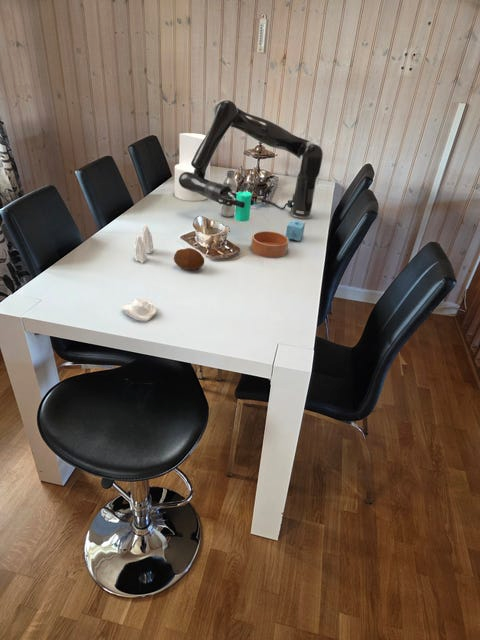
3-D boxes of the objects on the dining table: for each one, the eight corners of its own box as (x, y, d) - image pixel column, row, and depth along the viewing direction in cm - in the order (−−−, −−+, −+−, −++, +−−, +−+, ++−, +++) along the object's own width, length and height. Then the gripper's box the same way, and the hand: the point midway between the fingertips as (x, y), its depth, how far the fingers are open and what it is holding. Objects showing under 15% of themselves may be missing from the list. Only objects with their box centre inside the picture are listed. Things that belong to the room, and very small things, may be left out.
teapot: (297, 245, 179) (300, 228, 175) (283, 242, 180) (285, 225, 176) (303, 235, 189) (306, 219, 185) (289, 233, 190) (292, 216, 186)
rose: (117, 308, 120) (124, 290, 128) (118, 321, 123) (125, 303, 131) (154, 310, 121) (158, 292, 129) (154, 323, 124) (158, 305, 132)
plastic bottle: (218, 216, 200) (221, 171, 189) (224, 212, 205) (227, 168, 194) (231, 219, 198) (234, 174, 187) (237, 215, 203) (240, 171, 192)
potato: (175, 261, 157) (175, 242, 153) (205, 264, 158) (206, 245, 153) (171, 272, 150) (171, 252, 146) (203, 275, 150) (203, 255, 146)
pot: (244, 244, 175) (246, 233, 173) (275, 241, 181) (277, 229, 178) (261, 259, 165) (263, 247, 162) (293, 255, 171) (295, 243, 168)
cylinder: (190, 188, 232) (191, 131, 216) (215, 196, 224) (218, 138, 209) (167, 194, 219) (167, 135, 204) (193, 203, 212) (195, 142, 196)
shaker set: (145, 248, 164) (144, 220, 158) (156, 250, 164) (155, 222, 158) (132, 261, 154) (130, 232, 148) (143, 263, 154) (142, 234, 148)
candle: (251, 218, 178) (254, 188, 171) (246, 222, 173) (249, 193, 167) (237, 215, 179) (239, 186, 173) (232, 219, 175) (234, 190, 168)
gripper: (205, 186, 173) (237, 198, 164) (230, 180, 183) (261, 191, 174) (204, 204, 177) (235, 217, 169) (228, 198, 187) (259, 209, 178)
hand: (248, 203), depth 171 cm, fingers closed on candle, 5 cm apart
